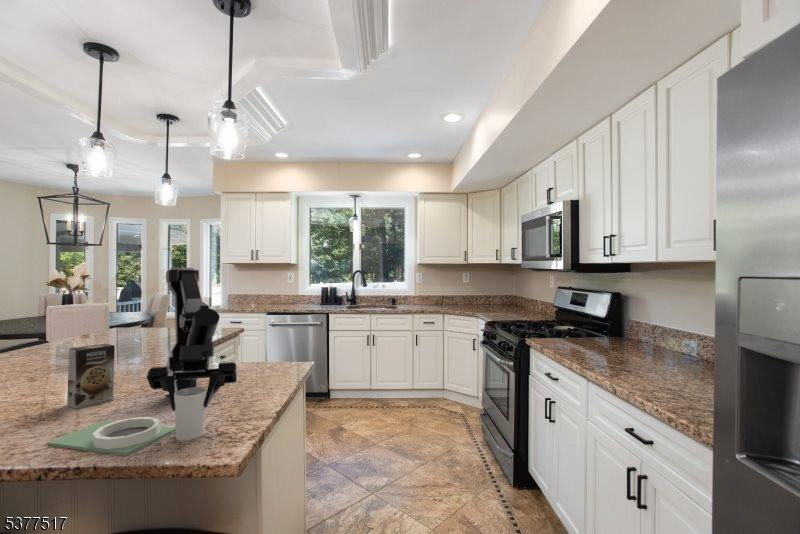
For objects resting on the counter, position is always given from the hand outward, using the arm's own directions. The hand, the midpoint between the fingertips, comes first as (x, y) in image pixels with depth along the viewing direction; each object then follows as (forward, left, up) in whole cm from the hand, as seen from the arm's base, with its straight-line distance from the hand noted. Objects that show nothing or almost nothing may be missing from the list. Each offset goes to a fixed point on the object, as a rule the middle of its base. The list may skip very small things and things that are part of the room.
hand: (189, 408), depth 86 cm
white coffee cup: (-1, +1, -7) cm, 7 cm away
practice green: (-16, -4, -7) cm, 18 cm away
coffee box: (-45, +13, -7) cm, 47 cm away
